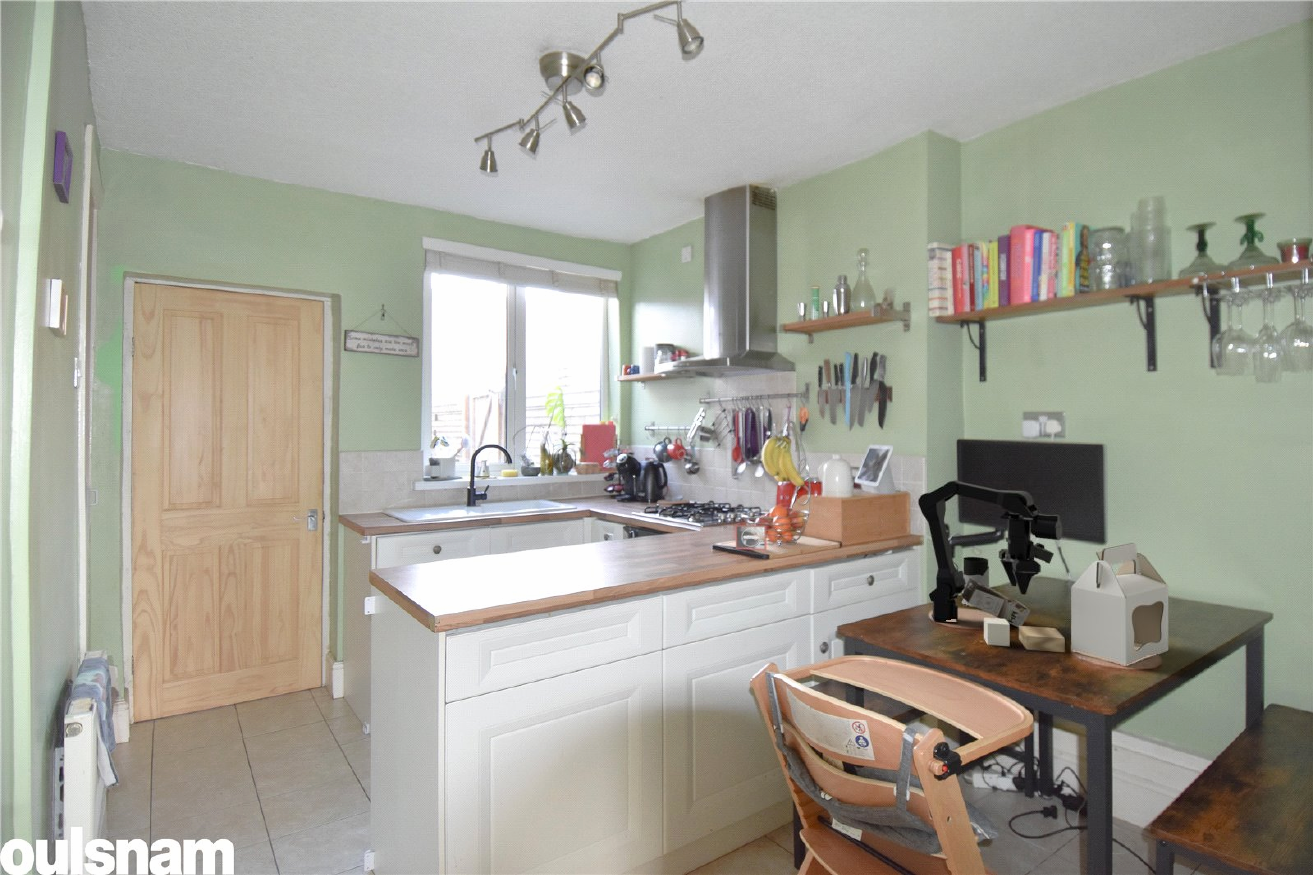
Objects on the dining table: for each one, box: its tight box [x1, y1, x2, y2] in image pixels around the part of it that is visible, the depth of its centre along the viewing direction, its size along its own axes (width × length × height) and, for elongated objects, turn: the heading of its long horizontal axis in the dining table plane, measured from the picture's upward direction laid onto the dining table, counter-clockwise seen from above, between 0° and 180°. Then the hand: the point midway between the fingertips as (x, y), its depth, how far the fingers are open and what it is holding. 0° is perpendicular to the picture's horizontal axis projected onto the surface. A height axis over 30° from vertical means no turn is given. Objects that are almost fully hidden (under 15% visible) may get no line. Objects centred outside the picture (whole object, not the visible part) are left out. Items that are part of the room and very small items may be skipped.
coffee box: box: [961, 579, 1031, 629], centre depth 201 cm, size 9×6×16 cm
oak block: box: [1018, 625, 1066, 653], centre depth 182 cm, size 9×9×4 cm
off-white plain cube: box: [983, 617, 1011, 647], centre depth 185 cm, size 5×5×6 cm
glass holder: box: [953, 556, 990, 608], centre depth 224 cm, size 9×14×15 cm, turn 67°
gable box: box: [1070, 542, 1169, 665], centre depth 176 cm, size 22×13×28 cm, turn 120°
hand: (1018, 590), depth 190 cm, fingers open, 9 cm apart
